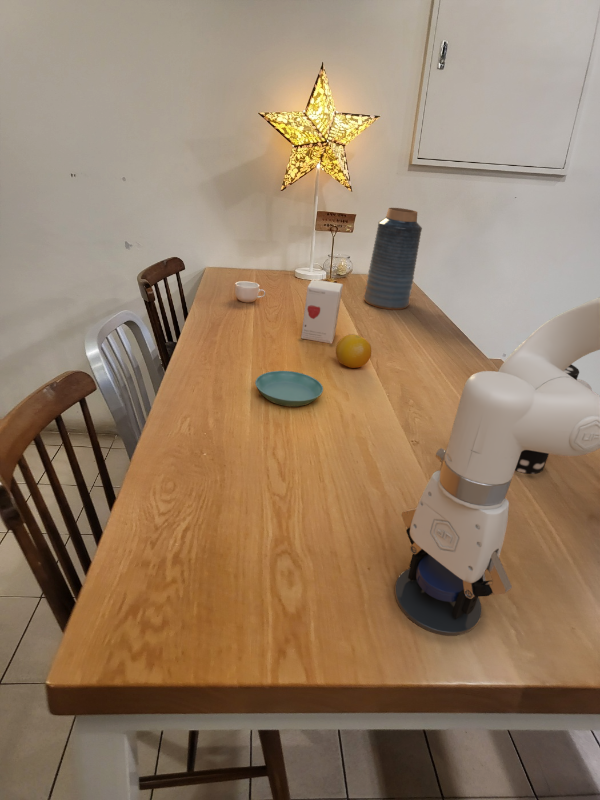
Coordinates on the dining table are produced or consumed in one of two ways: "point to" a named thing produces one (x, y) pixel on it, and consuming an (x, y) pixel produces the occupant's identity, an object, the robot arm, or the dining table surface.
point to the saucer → (289, 388)
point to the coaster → (432, 609)
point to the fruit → (353, 351)
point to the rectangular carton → (321, 311)
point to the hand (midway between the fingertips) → (438, 592)
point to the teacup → (247, 291)
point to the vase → (393, 260)
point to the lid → (438, 580)
